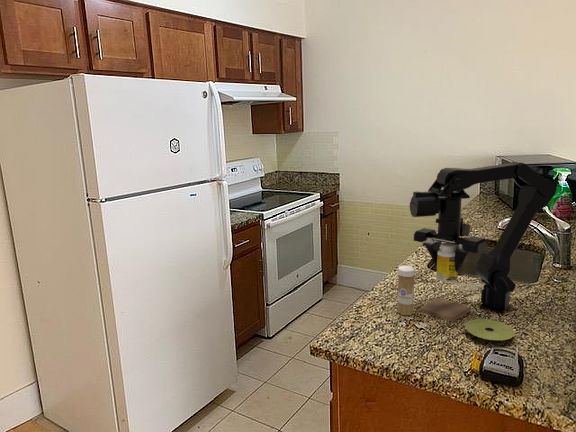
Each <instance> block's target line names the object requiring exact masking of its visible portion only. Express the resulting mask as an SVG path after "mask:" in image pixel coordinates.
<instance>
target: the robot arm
mask: <svg viewBox="0 0 576 432" xmlns="http://www.w3.org/2000/svg"><path fill="white" fill-rule="evenodd" d="M509 179H513V181H514V183H515V184H516V185H517V186H519V187H520V189H519V191H518V200H517V201H518V203H517V206H516V208H515V210H514V211H513V214H512V215H511V217H510V219H509V221H508V223H507V225H506V227H504V230H503V232H502V233H501V235H500V237H499V239H498V241H497V242H496V244H495V245H494V248H493V249H492V250H491V251H489V252H488V253H486V252H485V251H484V250H486V249H487V244H488V243H487V240H486V239H485V238H484V237H478V236H473V235H472V236H470V231H471V225H470V224H468V223H464V218H463V217H462V215H461V214H462V199H463V200H464V199H470V197H471V196H470V194H468V193H467V192H466V191H465V190H466V189H469V188H470V187H472V186H475V185H477V184H482V183H483V184H484V183H490V182H497V181H504V180H509ZM557 189H558V188H557V185H556V183H555V182H554V181H553V180H552V179H548V178H545V176H543V175H542V174H540V173H539V172H537V171H535V170H533V169H532V168H531V167H530V166H529V165H528V164H526V163H524V162H520V161H511V162H509V163H503V164H496V165H495V164H494V165H488V166H482V167H475V168H459V167H444V168H442V169H440V171H439V172H438V173H437V175H436V179H435V180H434V181H433V183H432V185H430V187H428V191H413V192H412V197H411V198H410V202H409V211H410V214H411V216H412V218H420V217H422V218H423V217H435V216H436V215H437V216H438V217H437V218H436V219H435V223H436V224H437V230H435V229H432V228H426V227H424V228H421V229H418V230H416V231H414V233H413V242H418V243H422V246H424V247H425V248H426V250H427V252H428V253H429V255H430V257H431V259H432V261H433V263H434V266H435V268H437V252H438V251H439V250H441V244H442V243H451V244H455V245H456V246H459V248H456V250H455V270H456V272H460V270H461V267H462V266H463V263H464V261H465V259H466V257H467V255H468V254H469V253H473V254H478V253H480V252H482V251H483V252H482V253H481V254H480V257H479V259H478V260H477V261H476V262H475V265H476V268H475V273H476V275H477V276H478V277H479V278H480V281H481V283H484V284H483V288H482V289H481V297H480V304H479V307H480V308H484V309H487V310H490V311H493V312H497V313H500V314H503V313H505V312H506V311H507V310H509V309H510V308H512V303H511V304H510V299H511V293H514V291H515V289H516V283H515V282H514V281H513V280H511V278H509V275H510V272H511V265H512V264H511V259H512V256H513V255H514V253H515V251H516V249H517V248H518V245H519V244H520V242H521V240H522V239H523V237H524V235H525V233H527V230H528V228H529V226H530V224H531V223H532V221H533V219H534V218H535V216H536V214H537V213H538V212H539V211H540V210H542V209H544V207H546V206H548V204H550V202H551V201H552V200H553V198H554V197H555V196H556V194H557ZM436 231H437V232H436ZM461 237H462V238H461ZM463 237H467V238H463Z"/></svg>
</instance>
